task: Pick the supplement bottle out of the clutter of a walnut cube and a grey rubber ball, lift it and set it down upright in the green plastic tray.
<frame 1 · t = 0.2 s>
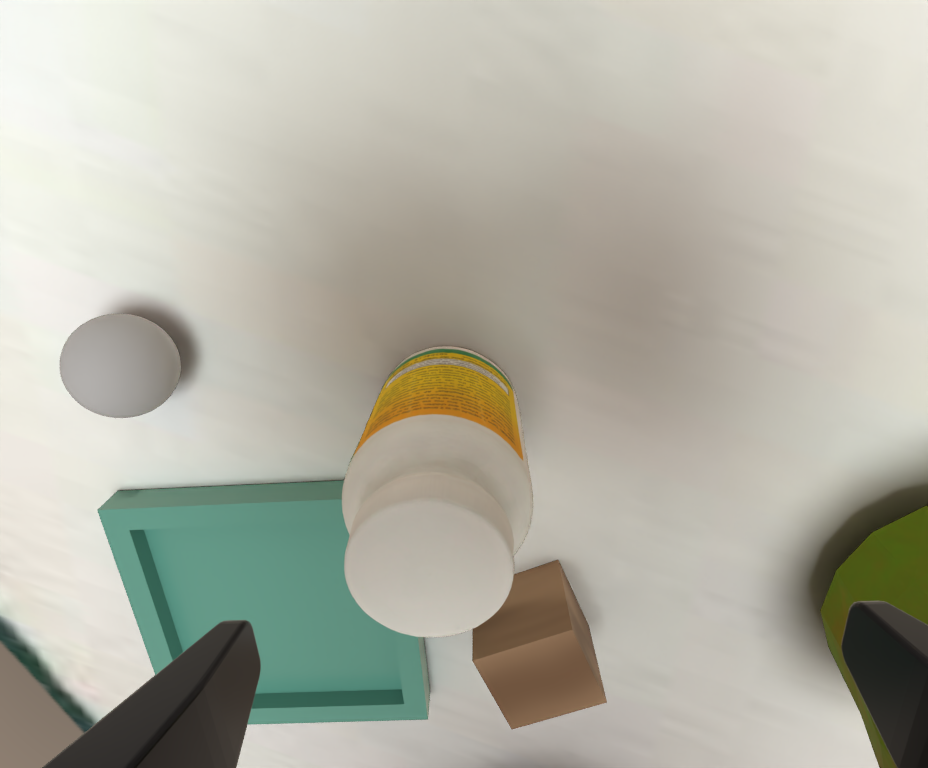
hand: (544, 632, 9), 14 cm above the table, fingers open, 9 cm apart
walnut cube: (531, 606, 26), on the table
grey ball: (150, 349, 22), on the table
supplement bottle: (448, 405, 22), on the table
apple: (924, 572, 25), on the table
tray: (285, 599, 26), on the table
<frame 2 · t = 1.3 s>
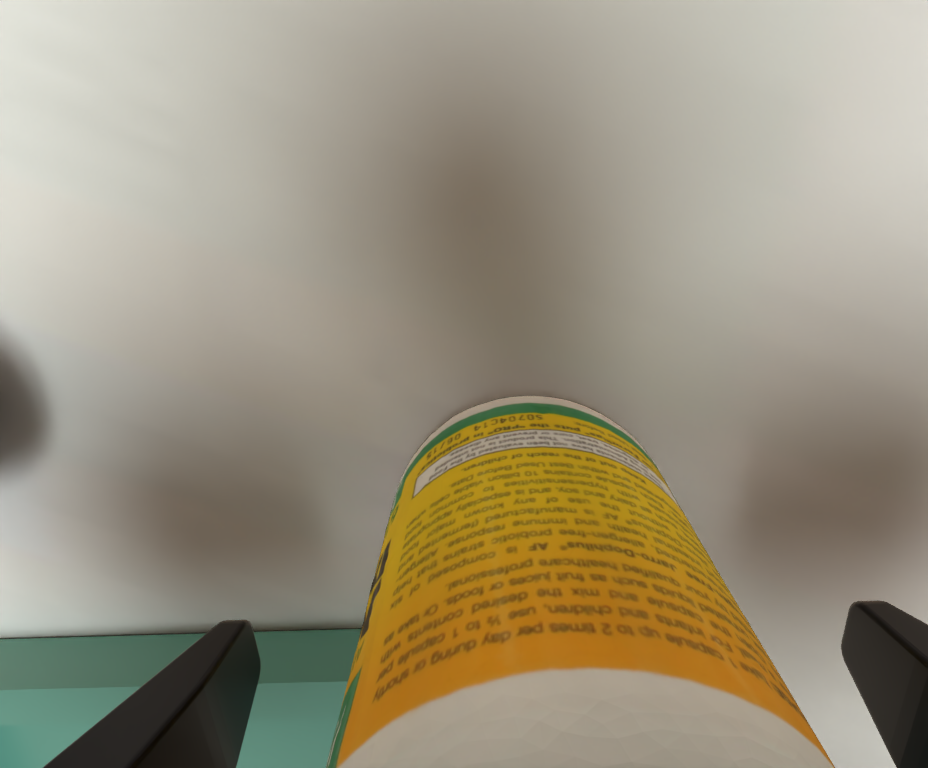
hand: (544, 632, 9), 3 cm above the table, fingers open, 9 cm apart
supplement bottle: (525, 502, 12), on the table
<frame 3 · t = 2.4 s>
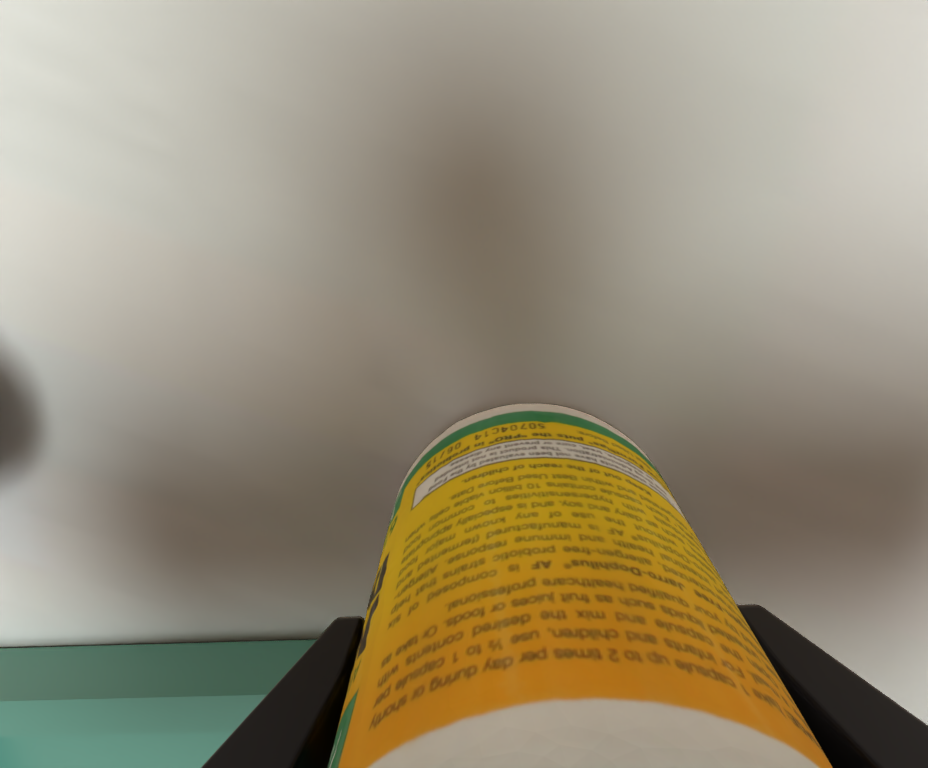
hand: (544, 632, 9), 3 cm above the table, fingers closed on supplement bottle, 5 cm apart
supplement bottle: (526, 510, 12), on the table, touching gripper
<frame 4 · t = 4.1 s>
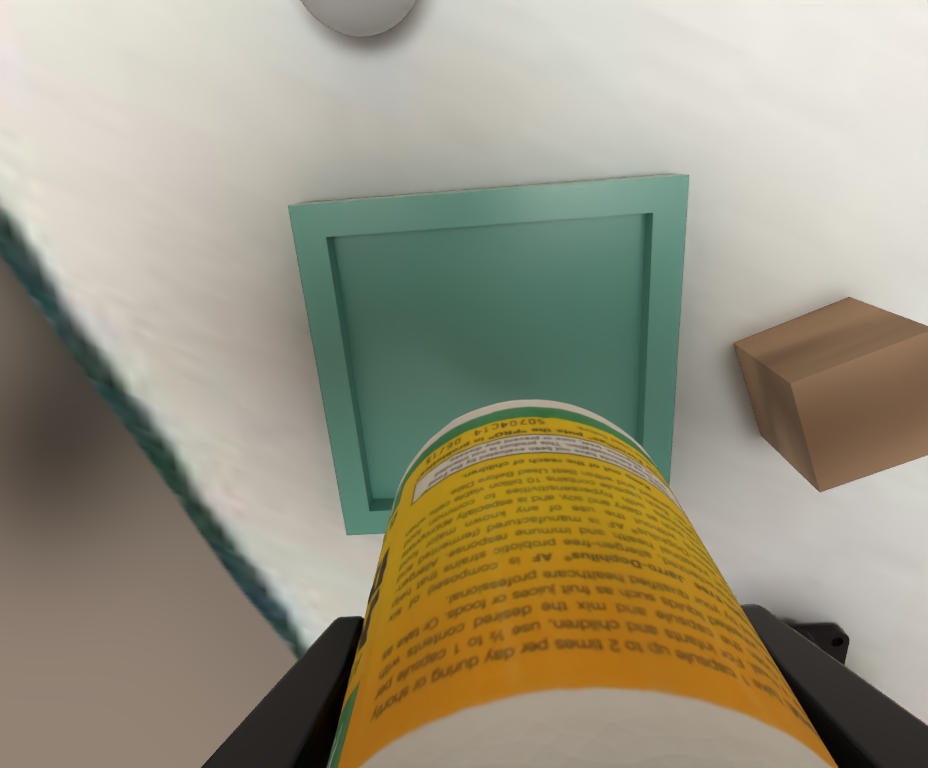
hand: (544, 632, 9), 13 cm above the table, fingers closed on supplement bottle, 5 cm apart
walnut cube: (802, 369, 21), on the table
supplement bottle: (526, 507, 12), point 10 cm above the table, touching gripper
tray: (495, 363, 21), on the table
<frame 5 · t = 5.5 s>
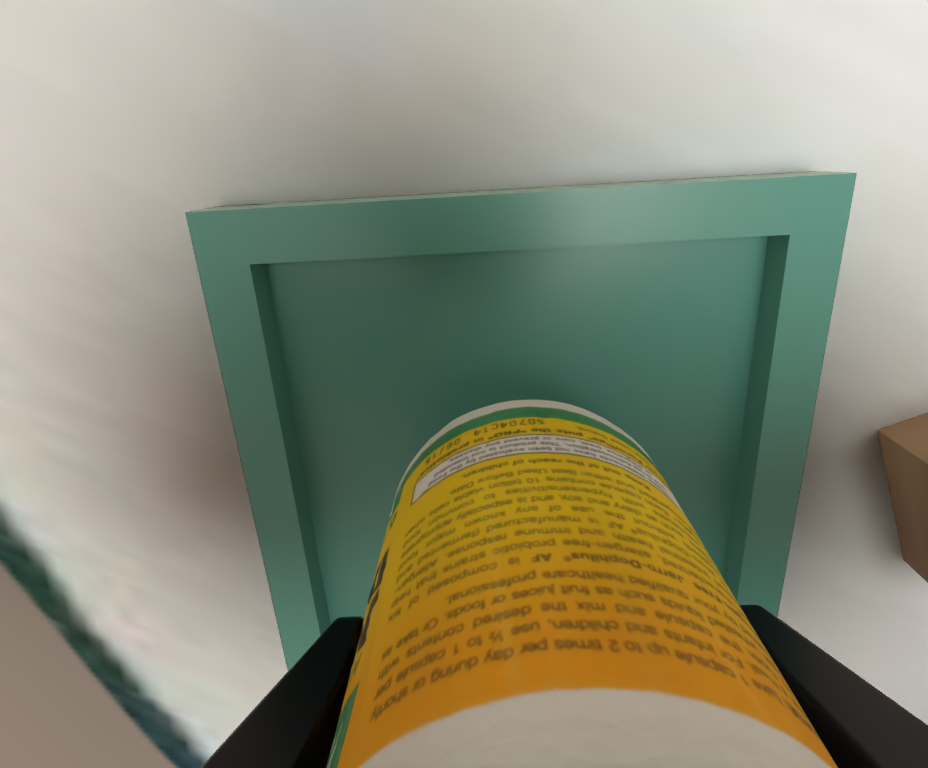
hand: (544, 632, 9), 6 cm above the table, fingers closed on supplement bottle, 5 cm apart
supplement bottle: (525, 507, 12), point 2 cm above the table, touching gripper
tray: (516, 452, 14), on the table
when the fingers open (5 cm above the table, at t = 6.3 s): supplement bottle drops 2 cm, resting on tray.
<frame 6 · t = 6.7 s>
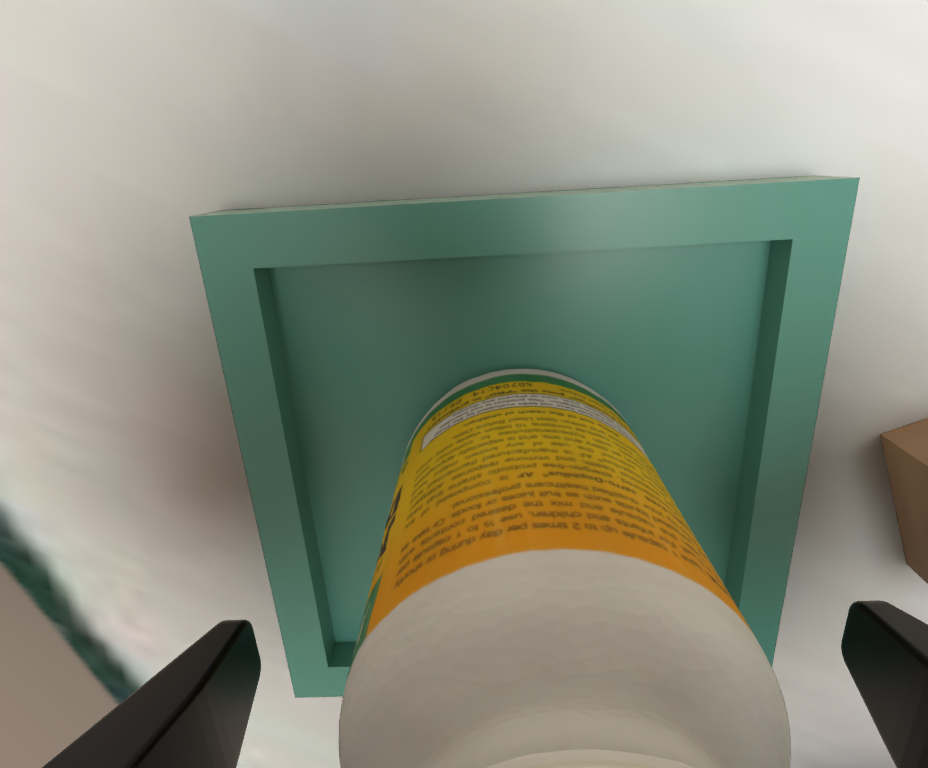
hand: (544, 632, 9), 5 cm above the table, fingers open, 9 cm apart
supplement bottle: (518, 466, 13), resting on tray
tray: (518, 456, 14), on the table
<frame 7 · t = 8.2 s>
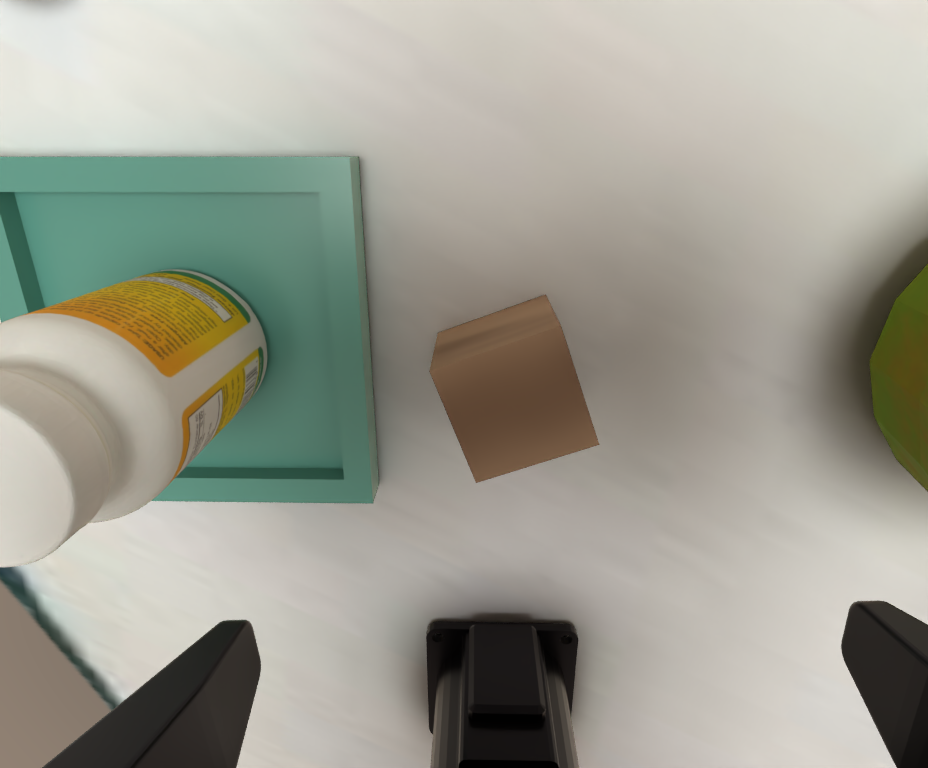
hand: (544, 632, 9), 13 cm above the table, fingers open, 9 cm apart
walnut cube: (509, 363, 21), on the table
supplement bottle: (196, 340, 20), resting on tray
tray: (203, 336, 21), on the table
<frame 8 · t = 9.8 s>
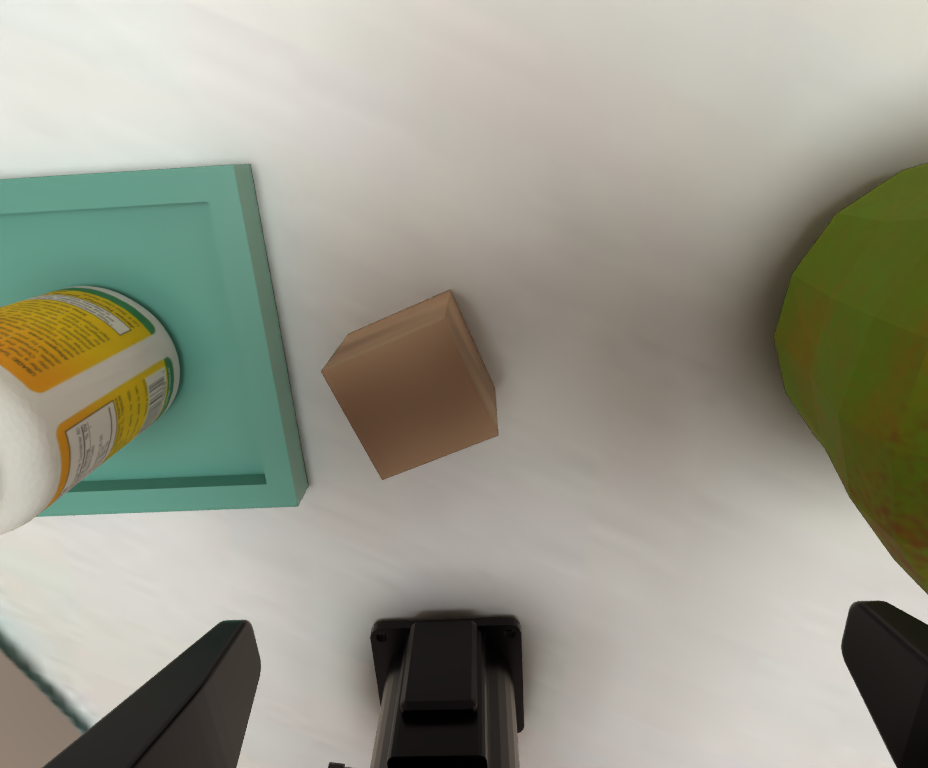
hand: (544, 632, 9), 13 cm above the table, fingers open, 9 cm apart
walnut cube: (422, 360, 21), on the table
supplement bottle: (112, 354, 21), resting on tray
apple: (906, 308, 20), on the table
tray: (119, 350, 21), on the table
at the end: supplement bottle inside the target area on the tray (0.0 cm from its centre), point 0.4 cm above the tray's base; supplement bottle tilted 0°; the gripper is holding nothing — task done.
